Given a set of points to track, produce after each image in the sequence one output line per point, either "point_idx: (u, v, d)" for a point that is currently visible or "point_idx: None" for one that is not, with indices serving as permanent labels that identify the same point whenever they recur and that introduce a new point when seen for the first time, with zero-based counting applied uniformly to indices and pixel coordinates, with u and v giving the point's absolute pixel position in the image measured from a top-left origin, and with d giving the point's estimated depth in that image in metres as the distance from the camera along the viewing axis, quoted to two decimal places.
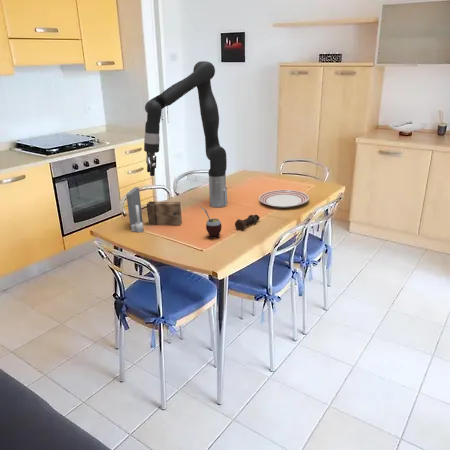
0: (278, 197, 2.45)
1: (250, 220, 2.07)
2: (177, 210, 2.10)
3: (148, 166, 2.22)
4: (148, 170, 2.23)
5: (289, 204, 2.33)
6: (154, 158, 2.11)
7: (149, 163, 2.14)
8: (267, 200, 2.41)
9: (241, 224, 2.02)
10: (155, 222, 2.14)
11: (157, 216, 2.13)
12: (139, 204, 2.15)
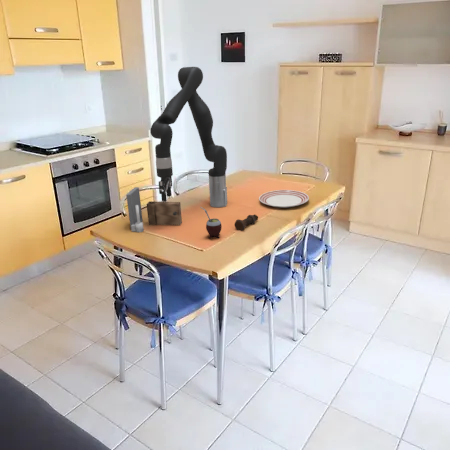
0: (278, 197, 2.45)
1: (249, 220, 2.07)
2: (177, 210, 2.10)
3: (167, 190, 2.13)
4: (167, 194, 2.14)
5: (289, 204, 2.33)
6: (161, 184, 2.00)
7: None
8: (267, 200, 2.41)
9: (241, 224, 2.02)
10: (155, 222, 2.14)
11: (157, 216, 2.13)
12: (139, 204, 2.15)
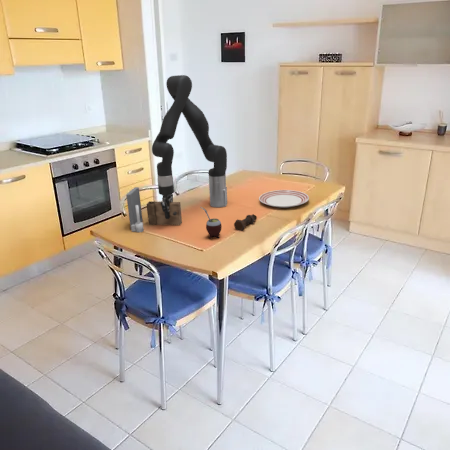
0: (278, 197, 2.45)
1: (248, 220, 2.07)
2: (177, 210, 2.10)
3: None
4: None
5: (289, 204, 2.33)
6: (164, 204, 2.05)
7: None
8: (267, 200, 2.41)
9: (241, 224, 2.02)
10: (155, 222, 2.14)
11: (157, 216, 2.13)
12: (139, 204, 2.15)
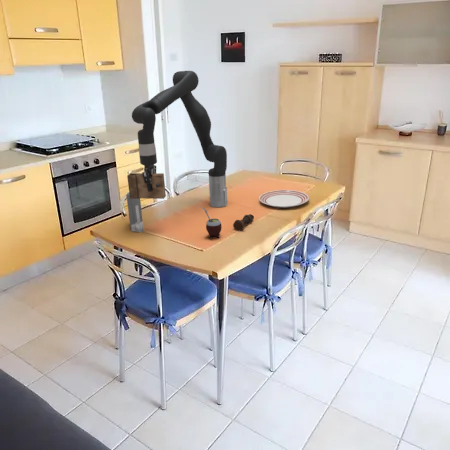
0: (278, 197, 2.45)
1: (247, 220, 2.08)
2: (160, 182, 1.95)
3: None
4: None
5: (289, 204, 2.33)
6: (145, 175, 1.90)
7: None
8: (267, 200, 2.41)
9: (240, 224, 2.02)
10: (137, 195, 1.99)
11: (139, 189, 1.98)
12: (139, 204, 2.15)
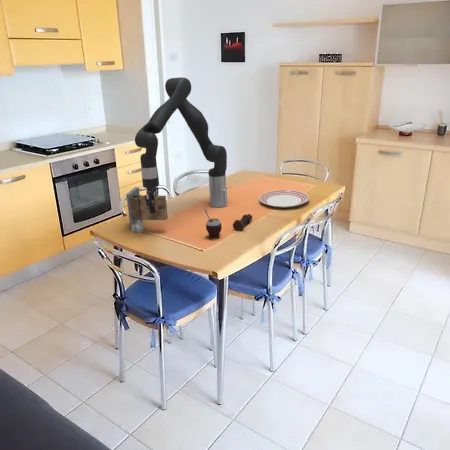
0: (278, 197, 2.45)
1: (246, 220, 2.08)
2: (162, 204, 1.99)
3: None
4: None
5: (289, 204, 2.33)
6: (148, 198, 1.94)
7: None
8: (267, 200, 2.41)
9: (240, 224, 2.01)
10: (139, 217, 2.03)
11: (141, 210, 2.02)
12: None
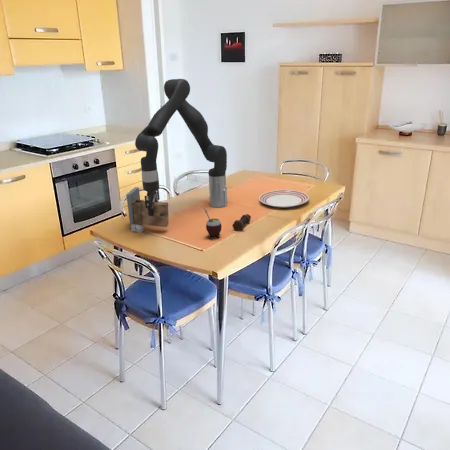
0: (278, 197, 2.45)
1: (245, 220, 2.08)
2: (164, 211, 2.00)
3: None
4: None
5: (289, 204, 2.33)
6: (147, 198, 1.93)
7: None
8: (267, 200, 2.41)
9: (240, 225, 2.01)
10: (140, 222, 2.04)
11: (143, 216, 2.02)
12: None
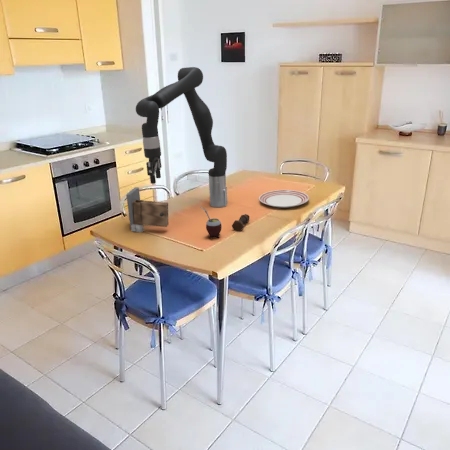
0: (278, 197, 2.45)
1: (244, 220, 2.08)
2: (164, 211, 2.00)
3: (156, 172, 2.03)
4: (157, 176, 2.04)
5: (289, 204, 2.33)
6: (149, 165, 1.91)
7: (148, 170, 1.95)
8: (267, 200, 2.41)
9: (240, 225, 2.01)
10: (140, 222, 2.04)
11: (143, 216, 2.02)
12: None
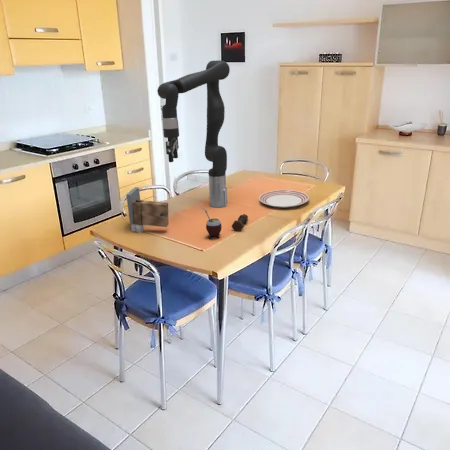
0: (278, 197, 2.45)
1: (243, 220, 2.08)
2: (164, 211, 2.00)
3: (174, 152, 2.15)
4: (174, 156, 2.16)
5: (289, 204, 2.33)
6: (168, 144, 2.03)
7: None
8: (267, 200, 2.41)
9: (239, 225, 2.01)
10: (140, 222, 2.04)
11: (143, 216, 2.02)
12: None
